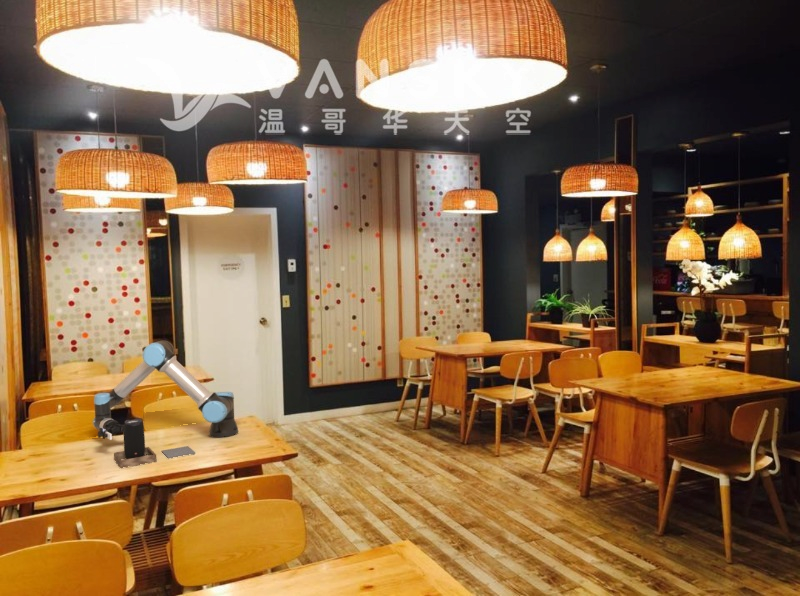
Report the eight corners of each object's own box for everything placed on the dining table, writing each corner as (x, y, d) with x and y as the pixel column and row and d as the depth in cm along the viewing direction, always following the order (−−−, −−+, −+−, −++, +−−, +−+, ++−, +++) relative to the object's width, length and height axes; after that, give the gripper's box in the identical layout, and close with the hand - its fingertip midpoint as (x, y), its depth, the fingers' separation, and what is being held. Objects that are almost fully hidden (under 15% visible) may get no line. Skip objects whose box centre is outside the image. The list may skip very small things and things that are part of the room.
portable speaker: (142, 463, 301) (140, 422, 300) (121, 464, 300) (119, 423, 299) (148, 457, 310) (146, 417, 308) (128, 458, 309) (126, 418, 308)
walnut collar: (149, 453, 316) (148, 446, 316) (156, 462, 303) (156, 454, 302) (114, 459, 307) (113, 452, 307) (120, 468, 294) (119, 461, 294)
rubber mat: (188, 447, 325) (187, 446, 325) (195, 454, 314) (195, 452, 314) (161, 452, 318) (161, 450, 318) (167, 459, 307) (167, 457, 307)
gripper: (134, 429, 336) (151, 436, 321) (84, 438, 319) (98, 447, 304) (134, 415, 336) (150, 421, 321) (83, 423, 319) (98, 431, 303)
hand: (125, 434), depth 312 cm, fingers open, 13 cm apart
